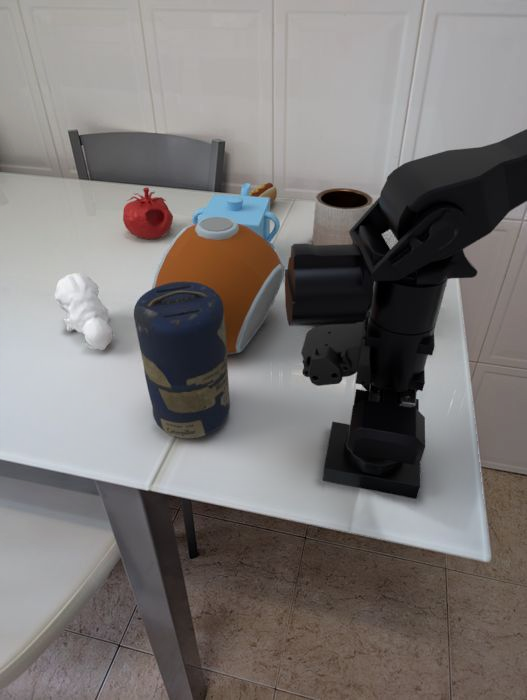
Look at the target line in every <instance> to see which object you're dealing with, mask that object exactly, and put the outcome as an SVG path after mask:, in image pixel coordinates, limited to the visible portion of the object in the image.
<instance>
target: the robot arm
mask: <svg viewBox="0 0 527 700" xmlns="http://www.w3.org/2000/svg"><path fill="white" fill-rule="evenodd" d="M524 203H527V128H526V129H524V130H521V131H519V132H517V133H515V134H512V135H511V136H509V137H506V138H504V139H502V140H499V141H497V142H494V143H490V144H487V145H484V146H478V147H477V146H476V147H468V148H457V149H449V150H445V151H440V152H438V153H434V154H431V155H427V156H424V157H419V158H416V159H413V160H409V161H407V162H405V163H403V164H401V165H399V166H398V167H396V168H395V169H394V170H393V171H391V172H390V173H389V174H388V176H387V177H386V181H385V183H384V185H383V187H382V189H381V191H380V194H379V197H378V198H377V199H376V201H374V202H373V205H372V206H371V207H370V208H369V210H368V211H367V212H366V213H365V214H364V215H363V216H362V217H361V218H360V220H359V221H358V222H357V223H356V224H355V225H354V226H353V227H352V229H351V230H350V231H349V234H350V237H351V239H352V241H353V244H347V245H314V244H313V243H293V244H292V245H291V246H290V256H289V258H288V262H287V268H284V300H285V302H284V303H285V312H286V320H287V324H288V326H289V327H307V326H308V327H311V326H312V328H310V329H309V330H308V331H307V332H306V335H305V339H304V341H303V345H302V348H301V356H302V365H303V368H302V372H301V373H302V375H303V376H304V377H305V378H309V381H310V382H311V384H313V385H314V386H316V387H317V386H318V387H322V386H330V385H331V386H332V385H338V384H340V383H342V381H343V378H346V377H351V376H354V375H355V374H356V376H355V383H354V384H356V385H361V386H362V387H363V389H358V388H356V389H355V391H354V400H353V405H352V409H351V415H350V422H349V425H350V428H349V435H348V442H347V448H348V449H349V450H350V451H351V452H352V454H357V455H363V456H368V457H374V458H379V459H384V460H390V461H395V462H401V463H406V464H411V465H415V464H417V463H418V462H420V463H421V462H422V459H423V456H424V452H425V449H426V417H425V416H424V415H423V414H422V413H421V412H420V405H419V404H420V400H419V398H417V392H418V391H422V392H423V391H424V387H425V384H426V377H425V375H426V373H425V370H426V369H425V368H426V363H427V361H428V360H427V359H428V357H429V356H433V355H434V351H435V348H436V347H435V346H436V344H435V329H436V326H437V322H438V317H439V314H440V309H441V306H442V303H443V299H444V294H445V291H446V287H447V283H448V280H450V279H473V278H475V277H476V276H477V275H478V270H477V268H476V267H475V266H474V265H473V263H471V261H470V260H469V259H468V257H467V256H466V253H465V251H464V249H466V248H468V247H469V246H471V245H473V244H475V243H476V242H478V241H480V240H482V239H484V238H485V237H487V236H489V235H490V234H491V233H492V232H493V231H494V230H495V229H496V228H497V226H498V225H499V224H500V223H501V222H502V221H503V220H504V219H505V217H506V216H507V215H508V214H509V213H510V212H512V211H513V210H514V209H516V208H518V207H520V206H522V205H524ZM388 231H391V233H392V235H393V236H394V238H395V239H396V241H397V242H396V243H395V244H394V245H393V246H392V247H390V246H389V244H388V243H387V241H386V240H385V237H384V236H383V234H384V233H386V232H388ZM374 281H375V283H374ZM373 287H374V289H373ZM369 310H370V311H369ZM364 320H365V322H364ZM357 322H361V323H357ZM315 325H326V326H320V327H317V326H315ZM313 326H314V327H313ZM364 389H365V390H364Z"/></svg>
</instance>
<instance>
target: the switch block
mask: <svg viewBox="0 0 527 700" xmlns="http://www.w3.org/2000/svg"><path fill="white" fill-rule="evenodd" d="M349 428H350V423H343V422H338V421H332V422H331V428H330V432H329V437H328V443H327V449H326V454H325V461H324V464H323V473H322V481H324V482H329V483H333V484H338V485H344V486H348V487H354V488H359V489H364V490H368V491H373V492H379V493H384V494H388V495H394V496H399V497H403V498H409V499H414V500H416V499H417V498H418V495H419V492H420V489H421V461H420V462H418V463H417V464H415V465H411V464H406V463H401V462H395V461H390V460H384V459H379V458H374V457H368V456H363V455H357V454H352V452H351V451H350V450H349V449H348V448H347V442H348V435H349Z"/></svg>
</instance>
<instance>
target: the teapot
mask: <svg viewBox="0 0 527 700" xmlns="http://www.w3.org/2000/svg"><path fill="white" fill-rule="evenodd" d="M240 190H241V191H240V195H236V194H235V195H233V194H232V195H231V194H220V193H219V194H217V193H214V194H213V195H212V197H211V198H210V200H209V202H208V203H207V204H206V206H204V207H200V208H198V209H197V210H196V211H194V213H193V215H192V216H191V217H192V218H191V222H192V224H198V222H199V221H201V220H203V219H205V218H210V217H227V218H230V219H233V220H235V222H236V223H238V224H241V225H244V226H246V227H248V228H249V229H251V230H252V231H254V232H255V233H257V234H258V235H259V236H261V237H262V238H264V239H265V240H266V241H267V242H268V243H269V245H270V246H271V247H272V248H273V249H274V250H275V246H274V244H273V243H271V241H272V240H273V239H274V238H275V236H276V235H277V234H278V232H279V230H280V225H281V223H280V220H279V218H278V216H277V215H276V214H275V213H273V212H271V205H270V198H269V197H253V196H250V192H251V191H250V190H251V184H250V182H245V183H243V184H242V186H241V189H240ZM271 221H272V223H273V224H274V225H273V229H272V230H271Z"/></svg>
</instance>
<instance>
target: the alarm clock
mask: <svg viewBox="0 0 527 700" xmlns="http://www.w3.org/2000/svg"><path fill="white" fill-rule="evenodd" d="M285 269H286V268H285V266H284V265H283V264H282V262H281V259H280V257H279V255H278V253H277V251H275V248H274V249H273V248H272V247H271V246H270V245H269V243H268V242H267V241H266V240H265V239H264V238H262V237H261V236H259V235H258V234H257V233H255V232H254V231H252V230H251V229H249V228H248V227H246V226H244V225H241V224H238V223H236V222H235V220H233V219H230V218H227V217H210V218H205V219H203V220H201V221H199V222H198V224H193V223H192V224H189V225H187V226H186V227H183V228H182V230H181V231H180V232H178V234H177V235H176V236H174V238H173V239H172V241H171V242H170V244H169V245H168V247H167V248H166V250H165V251H164V253H163V256H162V258H161V260H160V262H159V264H158V266H157V269H156V271H155V275H154V278H153V282H152V287H151V289H153V288H155V287H157V286H160V285H164V284H167V283H172V282H183V281H185V282H195V283H200V284H202V285H205V286H208V287H210V288H211V289H213V290H214V291H215V292H216V293H217V294H218V295H219V296H220V298H221V300H222V303H223V307H224V318H225V331H226V346H227V356H229V355H233V354H239V353H242V352H243V351H244V349H245V348H246V347H247V346H248V344H249V343H250V341H251V340H252V339H253V338H254V336H255V335H256V334H257V332H258V330H259V329H260V328H261V327H262V325H263V323H264V322H265V320H266V318H267V317H268V314H269V312H270V311H271V309H272V307H273V305H274V302H275V300H276V299H277V296H278V293H279V291H280V289H281V285H282V282H283V280H284V278H285Z"/></svg>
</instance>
